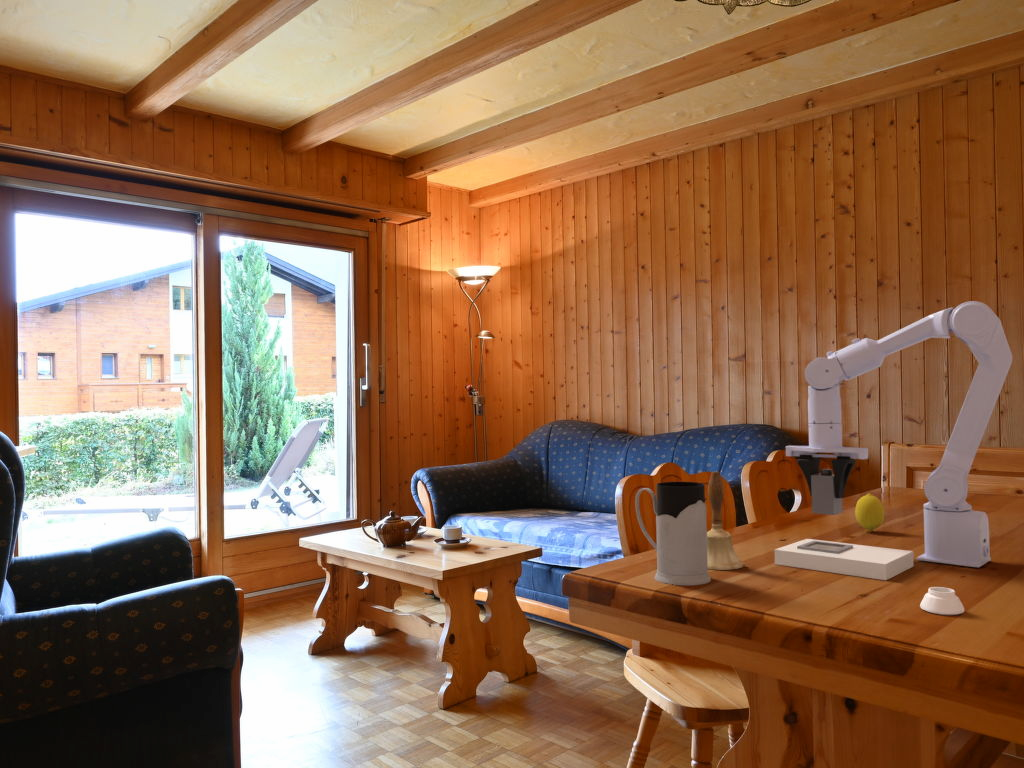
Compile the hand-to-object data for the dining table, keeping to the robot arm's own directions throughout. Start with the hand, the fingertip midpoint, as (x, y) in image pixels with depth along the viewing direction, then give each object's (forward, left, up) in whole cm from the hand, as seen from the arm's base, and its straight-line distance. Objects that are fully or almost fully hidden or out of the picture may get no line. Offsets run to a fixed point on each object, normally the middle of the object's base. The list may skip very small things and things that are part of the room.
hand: (826, 496), depth 141 cm
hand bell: (+9, +24, -10) cm, 27 cm away
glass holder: (+11, +36, -10) cm, 39 cm away
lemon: (+1, -24, -10) cm, 27 cm away
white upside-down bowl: (-27, +30, -10) cm, 41 cm away
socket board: (-7, +11, -10) cm, 16 cm away
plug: (0, 0, -3) cm, 3 cm away
